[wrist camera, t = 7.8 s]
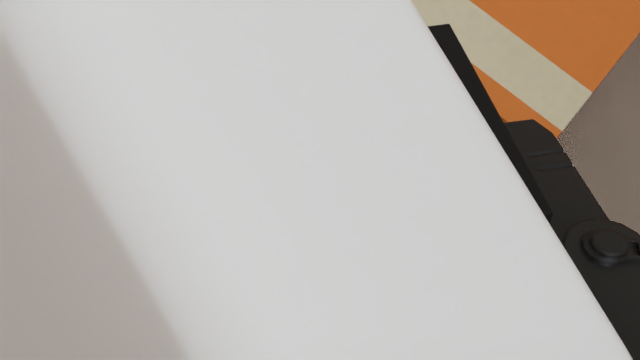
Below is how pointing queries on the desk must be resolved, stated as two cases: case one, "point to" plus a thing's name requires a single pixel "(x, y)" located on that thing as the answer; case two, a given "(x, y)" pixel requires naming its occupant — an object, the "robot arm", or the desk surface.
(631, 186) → the desk surface
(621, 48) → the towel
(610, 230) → the robot arm
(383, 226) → the milk
